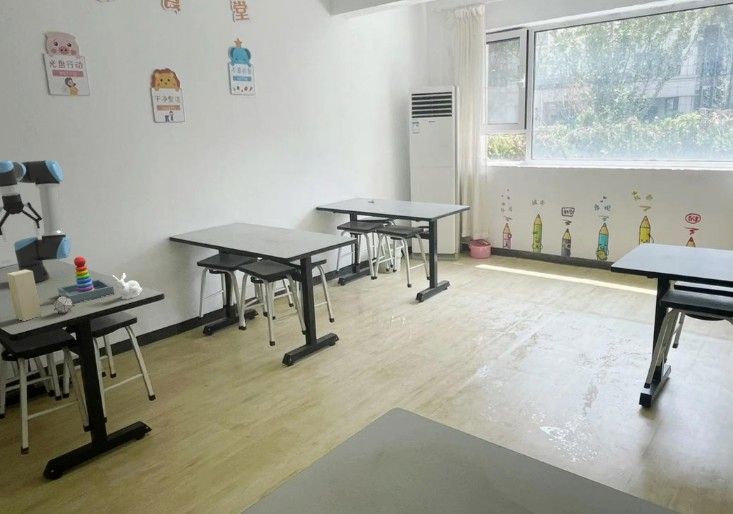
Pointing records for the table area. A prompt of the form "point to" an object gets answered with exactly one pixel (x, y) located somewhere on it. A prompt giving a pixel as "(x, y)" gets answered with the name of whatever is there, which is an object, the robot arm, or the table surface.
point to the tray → (98, 285)
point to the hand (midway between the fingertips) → (21, 238)
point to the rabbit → (127, 287)
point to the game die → (63, 304)
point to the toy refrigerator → (24, 294)
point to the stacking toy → (82, 276)
